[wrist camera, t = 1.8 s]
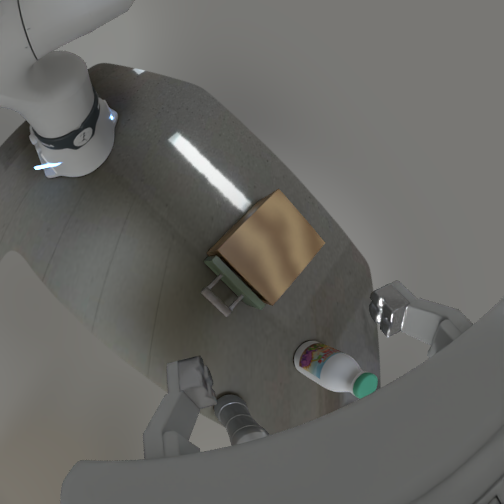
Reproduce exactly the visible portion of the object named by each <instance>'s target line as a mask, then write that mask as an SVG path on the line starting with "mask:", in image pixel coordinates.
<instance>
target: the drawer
mask: <svg viewBox="0 0 504 504" xmlns="http://www.w3.org/2000/svg"><path fill="white" fill-rule="evenodd" d="M203 262H204V263H205V264H206V265H207V266H208V267H209V268H210V269H211V270H212V271H213V272H214V273H215V274H216V275H217V277H216V278H215V279H214V280H213V281H212V282H211V283H210V284H209V285H208V287H205V288H203V289H202V291H201V293H202V294H203V295H204V296H205V297H206V298H207V299H208V300H209V301H210V302H211V303H212V304H213V305H214V306H215V307H216V308H217V309H218V310H219V311H221V312H222V313H223V314H224V315H225V316H226V317H228V316H229V315H230V314H231V313H232V309H233V308H234V307H235V306H236V305H237V304H238V303H239V302H240V300H243V301H244V302H245V303H246V304H247V305H250V306H252V307H255V308H257V309H259V310H262V309H263V308H264V306H265V305H266V304H265V303H264V302H263V301H262V300H261V299H260V298H258V297H257V296H256V295H255V294H254V293H253V292H255V293H258V292H257V291H256V290H255V289H254V288H253V287H252V286H251V285H250V284H249V283H248V282H247V281H246V280H245V279H244V278H243V277H242V276H241V275H240V274H239V273H238V272H237V271H236V270H235V269H234V268H233V267H232V266H231V265H230V263H229V262H228V261H227V260H226V259H225V258H224V257H223V256H222V255H221V254H216V255H215V256H210V257H207V258H206V259H205V260H204V261H203ZM238 277H239V278H240V279H241V280H242V281H243V282H244V283H243V282H242V281H241V280H240V279H239V278H238ZM220 279H221V280H222V281H223V282H224V283H225V284H226V285H227V286H228V287H229V288H230V289H231V290H232V291H233V292H234V293H235V294H236V295H237V296H238V298H237V299H236V300H235V301H234V302H233V303H232V304H231V305H230V306H229V307H227V306H226V305H225V304H224V303H223V302H222V301H221V300H220V299H219V298H218V297H217V296H216V295H215V294H214V293H213V292H212V291H211V290H210V289H211V288H212V287H213V286H214V285H215V284H216V283H217V282H218V281H219V280H220Z"/></svg>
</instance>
